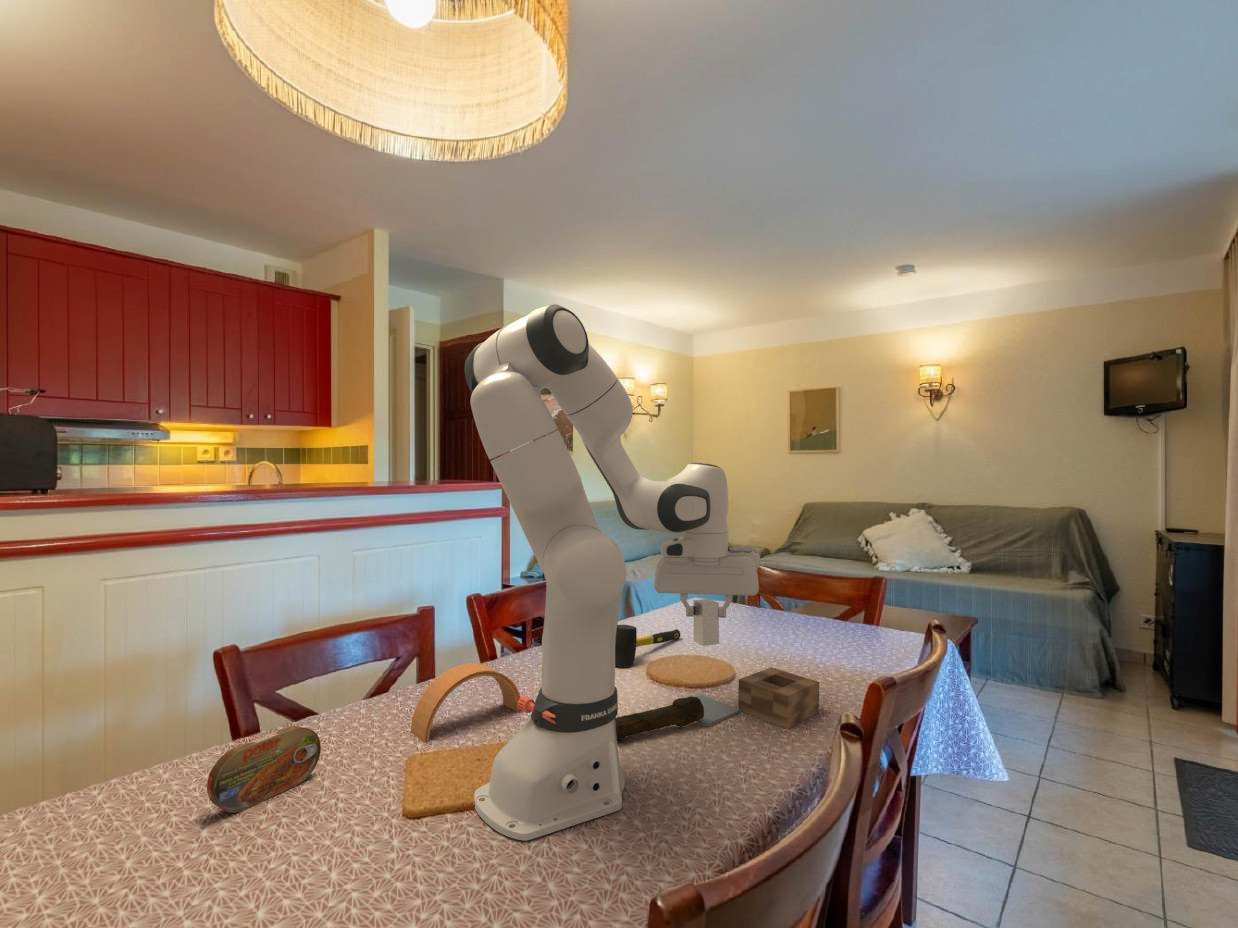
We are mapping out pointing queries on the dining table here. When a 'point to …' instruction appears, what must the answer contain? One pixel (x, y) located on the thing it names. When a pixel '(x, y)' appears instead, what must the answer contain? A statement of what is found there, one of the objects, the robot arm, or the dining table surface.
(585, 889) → the dining table surface
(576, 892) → the dining table surface
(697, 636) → the gray rectangular block
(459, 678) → the arch
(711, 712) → the pad
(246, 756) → the tin
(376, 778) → the dining table surface
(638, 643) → the mallet
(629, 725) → the hand tool
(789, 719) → the block with square hole
